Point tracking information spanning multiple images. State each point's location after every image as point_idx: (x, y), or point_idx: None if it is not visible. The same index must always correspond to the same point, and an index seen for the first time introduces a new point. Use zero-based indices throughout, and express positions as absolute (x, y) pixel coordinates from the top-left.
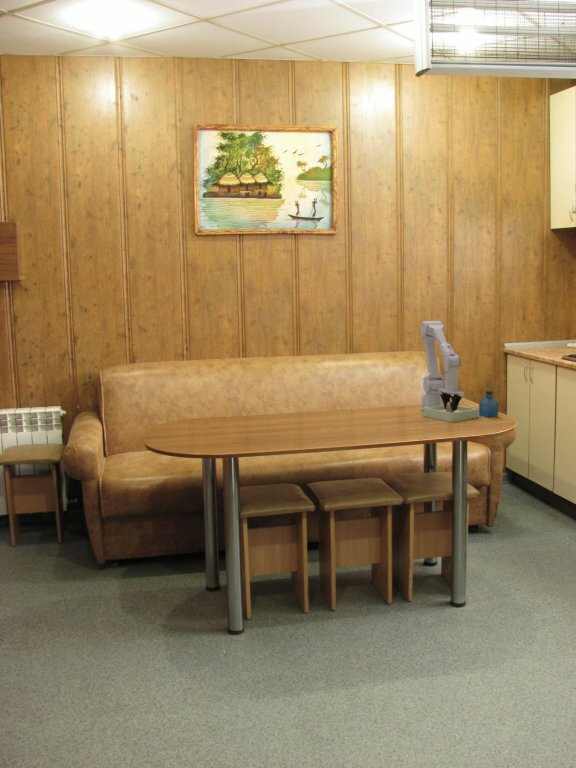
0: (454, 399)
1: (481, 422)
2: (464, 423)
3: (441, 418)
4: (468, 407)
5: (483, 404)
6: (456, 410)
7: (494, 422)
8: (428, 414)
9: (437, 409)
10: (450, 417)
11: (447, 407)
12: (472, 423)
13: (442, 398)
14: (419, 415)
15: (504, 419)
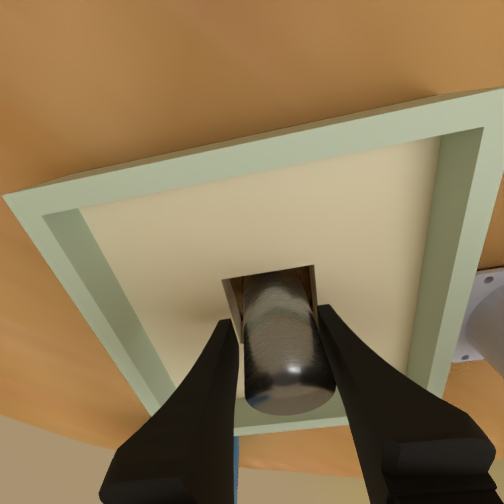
0: (136, 433)
1: (42, 341)
2: (6, 239)
3: (178, 151)
4: (253, 433)
5: None
6: None
7: (39, 386)
8: (370, 111)
9: (424, 282)
10: (50, 181)
11: (274, 313)
12: (7, 285)
13: (396, 386)
14: (493, 76)
15: (112, 440)
